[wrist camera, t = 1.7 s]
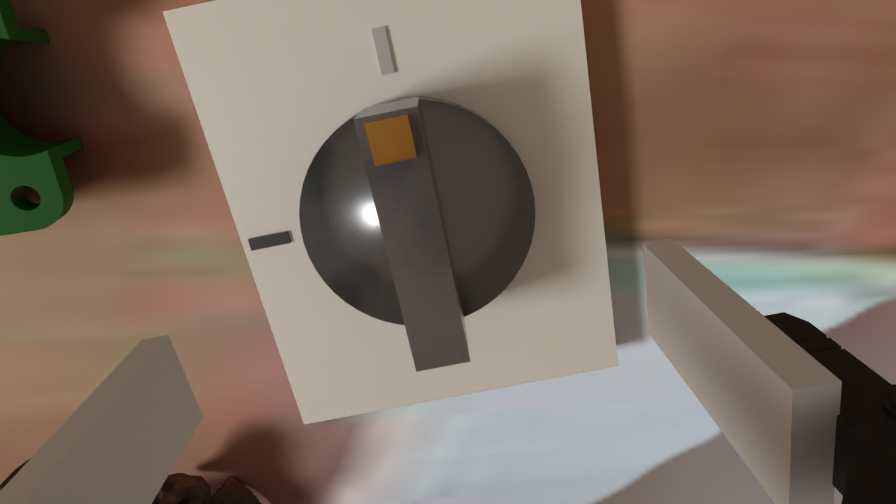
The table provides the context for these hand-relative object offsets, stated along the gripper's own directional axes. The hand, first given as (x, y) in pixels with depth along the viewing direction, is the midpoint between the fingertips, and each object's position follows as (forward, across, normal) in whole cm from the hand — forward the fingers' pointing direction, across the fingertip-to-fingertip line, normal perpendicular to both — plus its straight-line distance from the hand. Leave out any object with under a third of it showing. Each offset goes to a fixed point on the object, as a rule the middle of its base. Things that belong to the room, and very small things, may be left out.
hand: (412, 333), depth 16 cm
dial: (+13, 0, 0) cm, 13 cm away
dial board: (+15, 0, 0) cm, 15 cm away
